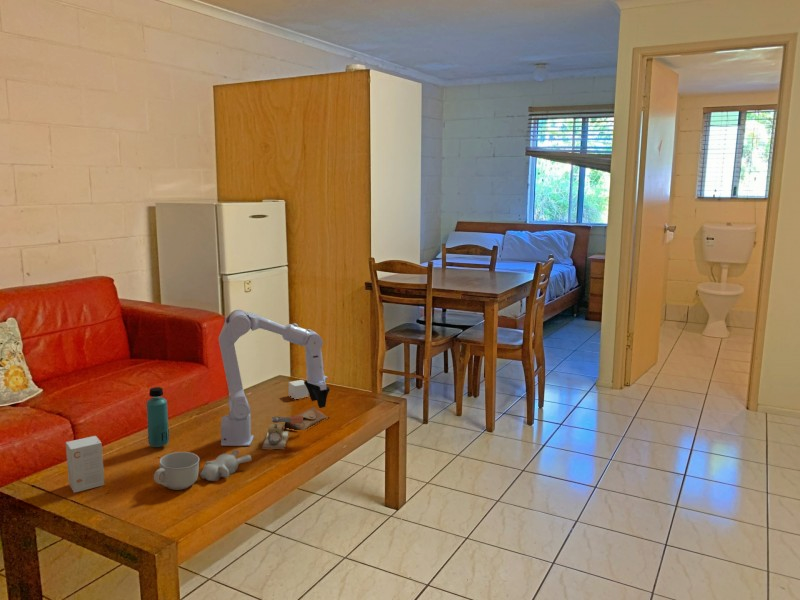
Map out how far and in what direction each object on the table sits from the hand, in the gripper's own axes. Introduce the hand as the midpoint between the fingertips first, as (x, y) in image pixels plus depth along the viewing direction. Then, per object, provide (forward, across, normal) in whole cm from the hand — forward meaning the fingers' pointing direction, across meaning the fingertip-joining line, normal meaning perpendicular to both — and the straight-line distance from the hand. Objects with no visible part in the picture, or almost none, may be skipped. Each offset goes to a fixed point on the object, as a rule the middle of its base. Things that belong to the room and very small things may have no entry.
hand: (318, 403), depth 220 cm
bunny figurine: (+8, -18, +37) cm, 41 cm away
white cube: (+11, +38, -4) cm, 40 cm away
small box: (+4, -10, +74) cm, 74 cm away
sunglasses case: (+11, +10, +1) cm, 15 cm away
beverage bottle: (+6, +9, +52) cm, 53 cm away
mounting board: (+9, -2, +16) cm, 19 cm away
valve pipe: (+9, -2, +16) cm, 19 cm away
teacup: (+6, -21, +51) cm, 56 cm away
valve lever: (+3, -3, +12) cm, 13 cm away
